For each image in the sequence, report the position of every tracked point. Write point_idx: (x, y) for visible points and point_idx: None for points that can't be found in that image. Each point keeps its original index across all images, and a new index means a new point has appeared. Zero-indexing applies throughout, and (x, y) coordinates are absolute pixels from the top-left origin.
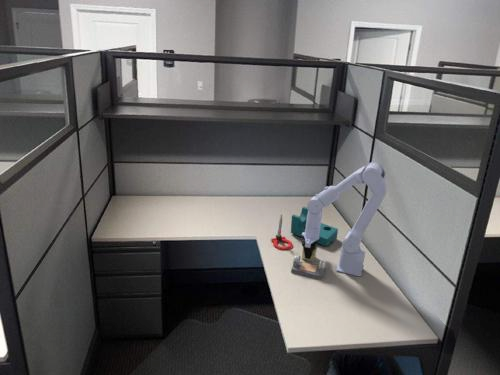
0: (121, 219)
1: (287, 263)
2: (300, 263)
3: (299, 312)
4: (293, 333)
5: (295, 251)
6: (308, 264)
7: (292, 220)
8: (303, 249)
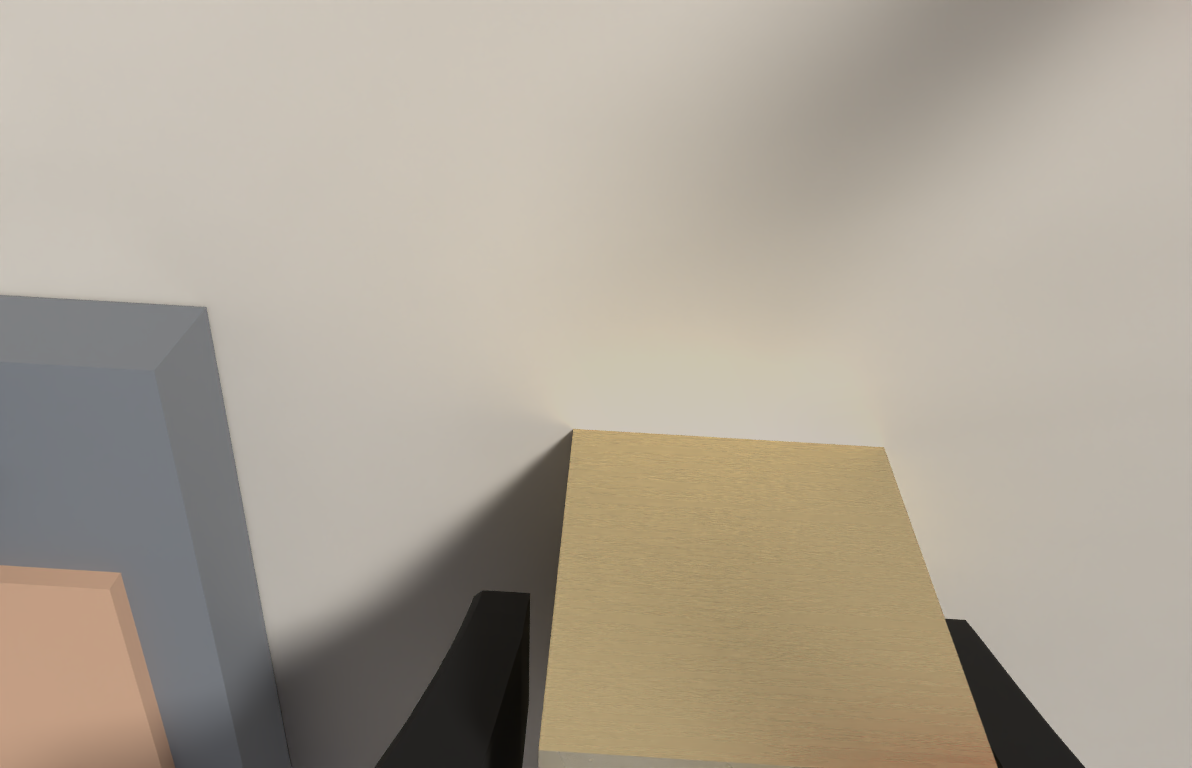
0: None
1: (25, 53)
2: (57, 524)
3: None
4: None
5: (1034, 165)
6: (113, 721)
7: None
8: (541, 731)
